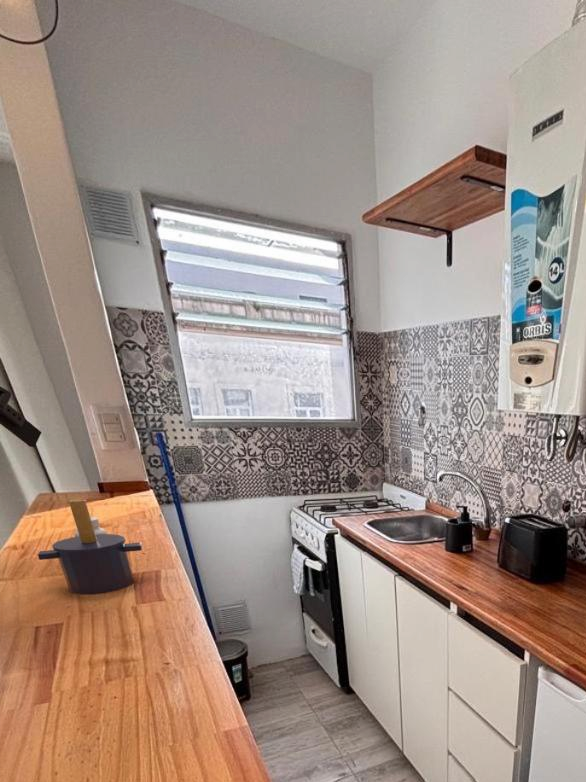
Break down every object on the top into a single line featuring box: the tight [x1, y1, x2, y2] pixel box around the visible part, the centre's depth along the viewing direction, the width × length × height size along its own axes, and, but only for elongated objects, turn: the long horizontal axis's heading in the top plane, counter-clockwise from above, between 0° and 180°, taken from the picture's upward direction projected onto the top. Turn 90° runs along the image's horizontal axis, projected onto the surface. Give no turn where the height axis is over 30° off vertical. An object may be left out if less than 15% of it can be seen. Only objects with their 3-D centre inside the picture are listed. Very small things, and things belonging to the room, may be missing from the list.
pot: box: [37, 541, 143, 595], centre depth 97 cm, size 10×16×8 cm, turn 119°
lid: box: [51, 498, 126, 553], centre depth 94 cm, size 11×11×9 cm
